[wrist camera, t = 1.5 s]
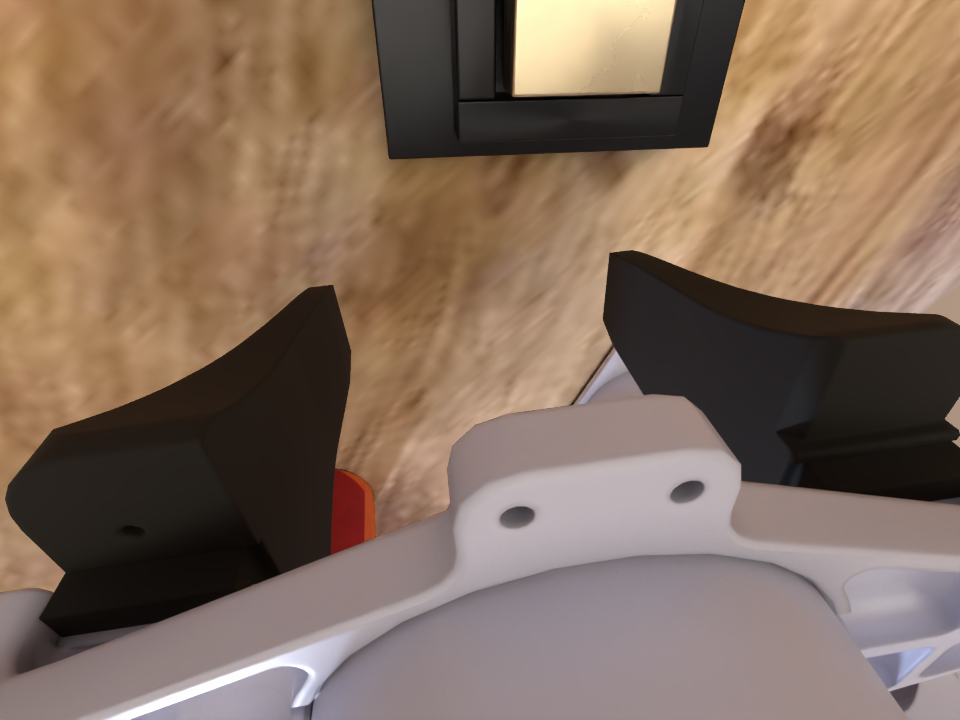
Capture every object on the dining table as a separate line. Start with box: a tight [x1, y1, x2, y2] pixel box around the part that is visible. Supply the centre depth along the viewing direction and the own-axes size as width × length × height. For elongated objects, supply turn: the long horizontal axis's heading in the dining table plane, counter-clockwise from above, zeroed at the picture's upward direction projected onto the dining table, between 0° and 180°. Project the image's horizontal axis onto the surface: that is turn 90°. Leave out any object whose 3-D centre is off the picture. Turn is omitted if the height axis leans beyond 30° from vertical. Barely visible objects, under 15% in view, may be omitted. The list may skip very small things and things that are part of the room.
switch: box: [503, 0, 677, 97], centre depth 13 cm, size 4×4×2 cm
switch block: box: [372, 0, 745, 159], centre depth 15 cm, size 12×9×4 cm
